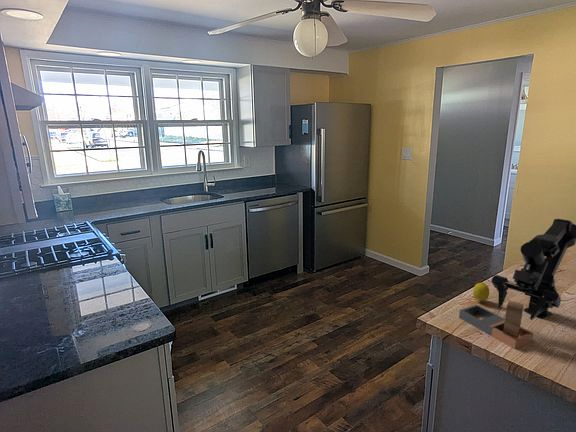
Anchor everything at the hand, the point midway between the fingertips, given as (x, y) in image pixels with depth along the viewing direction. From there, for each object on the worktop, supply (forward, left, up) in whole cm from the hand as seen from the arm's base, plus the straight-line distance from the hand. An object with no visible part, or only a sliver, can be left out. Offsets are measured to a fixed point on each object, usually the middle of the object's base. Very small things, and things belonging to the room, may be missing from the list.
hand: (514, 313), depth 115 cm
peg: (0, 0, -9) cm, 9 cm away
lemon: (-12, -21, -9) cm, 26 cm away
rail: (0, -6, -9) cm, 11 cm away
